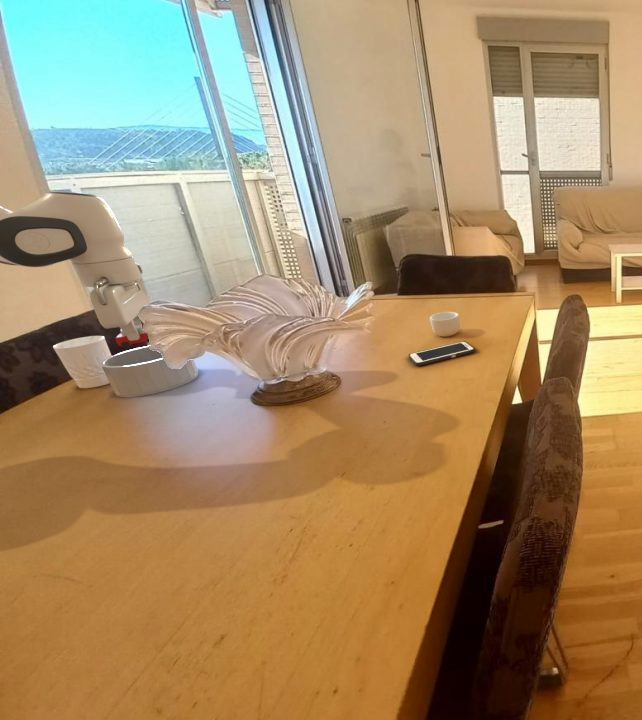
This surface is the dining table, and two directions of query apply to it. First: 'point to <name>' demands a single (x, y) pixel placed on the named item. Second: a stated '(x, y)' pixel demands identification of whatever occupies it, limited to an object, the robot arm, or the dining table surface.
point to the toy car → (126, 343)
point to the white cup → (85, 360)
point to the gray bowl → (144, 373)
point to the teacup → (445, 323)
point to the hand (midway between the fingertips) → (138, 336)
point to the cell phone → (441, 353)
